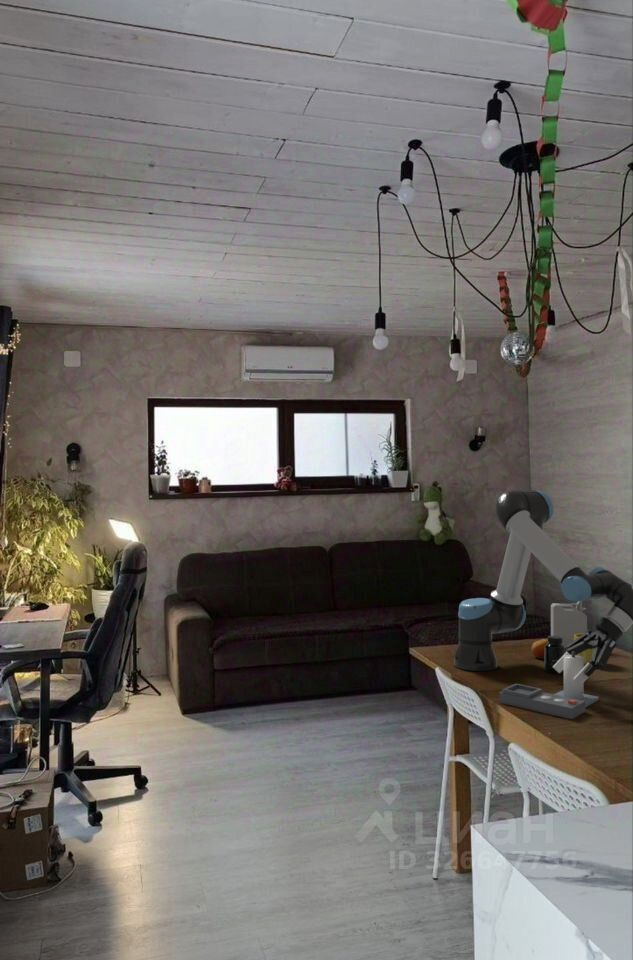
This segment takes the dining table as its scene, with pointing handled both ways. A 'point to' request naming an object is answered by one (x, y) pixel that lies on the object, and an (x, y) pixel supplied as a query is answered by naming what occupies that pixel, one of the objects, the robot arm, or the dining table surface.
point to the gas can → (568, 621)
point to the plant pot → (585, 652)
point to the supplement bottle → (553, 653)
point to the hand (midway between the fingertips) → (566, 676)
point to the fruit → (539, 648)
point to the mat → (587, 698)
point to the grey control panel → (541, 701)
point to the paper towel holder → (571, 669)
